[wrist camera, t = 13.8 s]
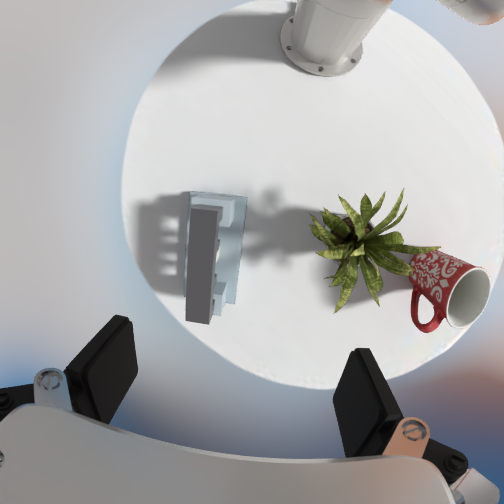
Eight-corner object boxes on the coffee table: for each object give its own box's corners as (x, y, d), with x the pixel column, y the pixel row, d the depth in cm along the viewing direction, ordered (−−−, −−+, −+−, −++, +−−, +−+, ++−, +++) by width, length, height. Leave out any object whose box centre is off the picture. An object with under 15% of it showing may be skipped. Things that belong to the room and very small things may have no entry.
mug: (431, 230, 38) (482, 253, 25) (451, 267, 40) (496, 297, 27) (379, 281, 41) (416, 321, 28) (402, 314, 43) (438, 357, 30)
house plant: (378, 168, 36) (440, 169, 21) (395, 254, 40) (452, 296, 24) (288, 193, 38) (304, 206, 23) (313, 281, 42) (337, 341, 26)
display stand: (192, 191, 39) (177, 194, 32) (247, 197, 39) (243, 201, 32) (186, 292, 43) (173, 313, 36) (235, 300, 43) (230, 322, 36)
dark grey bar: (199, 204, 33) (190, 208, 29) (223, 206, 33) (217, 211, 29) (193, 306, 37) (185, 320, 33) (214, 309, 37) (208, 324, 33)
